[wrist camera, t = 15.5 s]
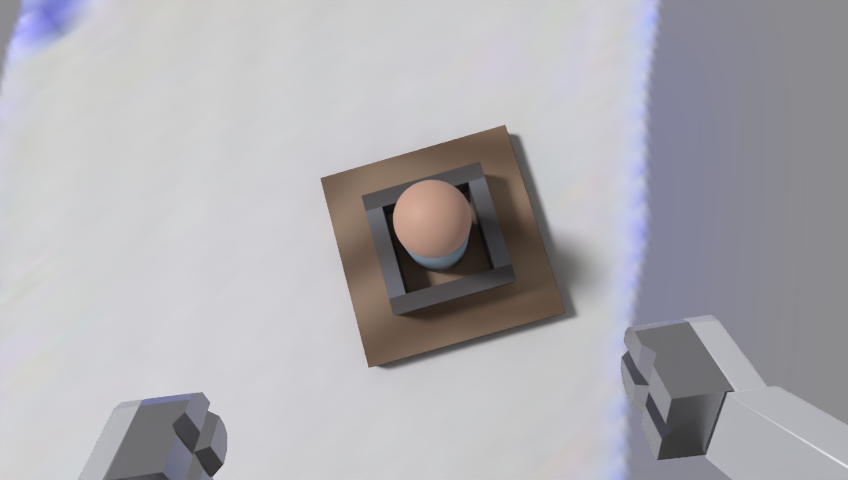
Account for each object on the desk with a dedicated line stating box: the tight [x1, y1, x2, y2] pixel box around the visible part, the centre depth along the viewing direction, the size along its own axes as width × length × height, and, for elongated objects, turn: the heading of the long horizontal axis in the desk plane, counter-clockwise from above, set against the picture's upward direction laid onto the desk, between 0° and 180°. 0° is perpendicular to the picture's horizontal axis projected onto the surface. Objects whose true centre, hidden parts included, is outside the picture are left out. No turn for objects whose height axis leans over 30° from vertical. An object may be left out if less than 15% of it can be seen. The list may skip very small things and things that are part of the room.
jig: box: [321, 125, 565, 367], centre depth 38 cm, size 15×15×4 cm
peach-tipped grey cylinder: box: [393, 180, 472, 272], centre depth 32 cm, size 4×4×12 cm
